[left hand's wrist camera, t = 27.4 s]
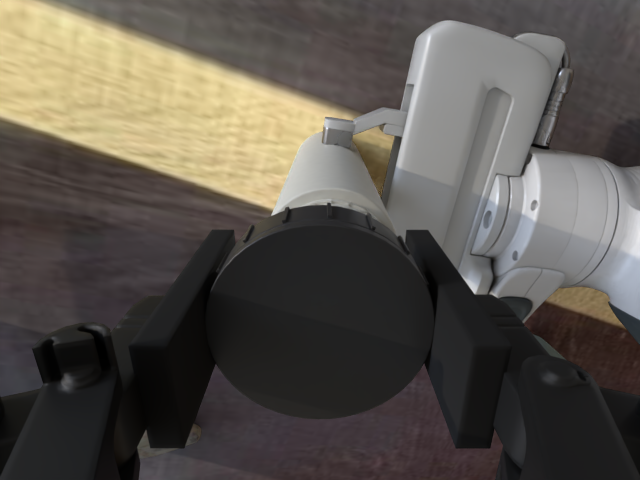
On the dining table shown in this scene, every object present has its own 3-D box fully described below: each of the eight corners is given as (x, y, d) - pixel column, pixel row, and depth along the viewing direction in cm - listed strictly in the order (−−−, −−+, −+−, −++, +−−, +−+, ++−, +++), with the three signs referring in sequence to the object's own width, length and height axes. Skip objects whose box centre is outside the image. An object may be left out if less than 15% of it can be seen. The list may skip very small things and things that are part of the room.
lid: (424, 374, 13) (437, 412, 11) (237, 389, 13) (227, 430, 12) (422, 191, 11) (439, 210, 9) (196, 215, 11) (176, 236, 9)
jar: (333, 209, 33) (341, 356, 15) (282, 170, 32) (226, 281, 14) (374, 158, 31) (437, 259, 14) (322, 116, 30) (316, 165, 13)
